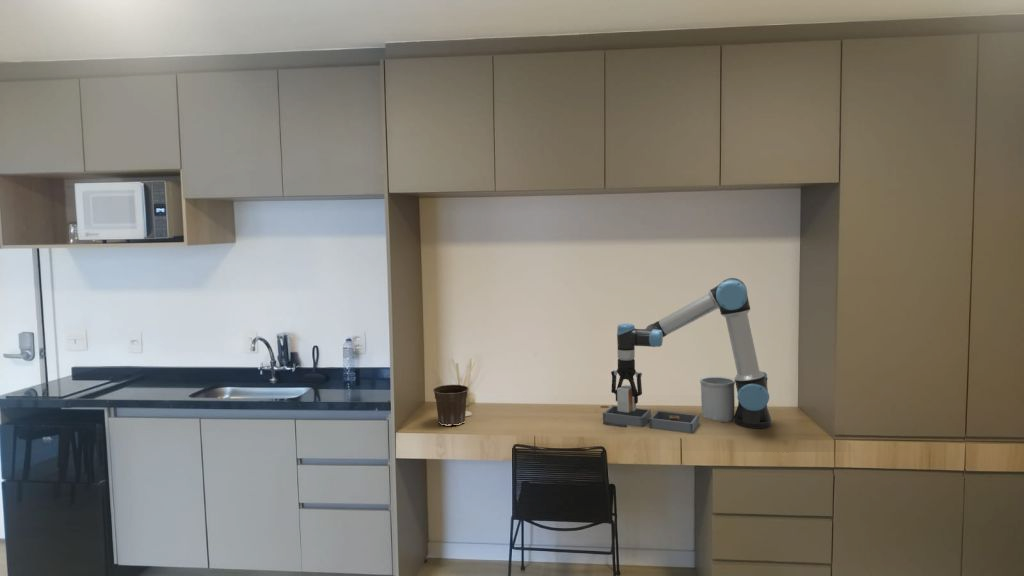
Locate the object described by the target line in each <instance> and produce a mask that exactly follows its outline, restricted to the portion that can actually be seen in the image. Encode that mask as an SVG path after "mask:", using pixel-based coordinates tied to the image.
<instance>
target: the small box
mask: <svg viewBox="0 0 1024 576" xmlns="http://www.w3.org/2000/svg"><path fill="white" fill-rule="evenodd" d="M616 389H617V401H616V403H617V405H616V406H617V407H618V411H620V412H627V413H629V412H631V411H632V397H633V396H634V394H633V391H632V388H631V385H630V384H624V385H622V386H621V387H620V388H617V387H616Z"/></svg>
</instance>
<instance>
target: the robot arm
mask: <svg viewBox="0 0 1024 576" xmlns="http://www.w3.org/2000/svg"><path fill="white" fill-rule="evenodd" d="M715 310H716V311H717V310H719V311H720V315H721V316H722V317H724V318H725V322H726V326H727V331H728V335H729V340H730V345H731V349H732V354H733V359H734V363H735V368H736V373H737V374H736V375H735V377H734V380H735V387H736V392H737V397H736V398H737V402H738V403H737V404H738V405H737V406H736V407H737V408H736V411H735V412H734V420H733V422H734V424H736V425H737V426H741V427H744V428H749V429H767V428H769V427H772V417H771V414H770V411H769V409H768V403H769V400H770V393H769V390H768V379H769V378H768V374H767V372H765V371H762V370H760V367H759V363H758V357H757V353H756V349H755V348H756V347H755V344H754V339H753V334H752V329H751V325H750V320H749V316H748V313H749V312H750V311H751V307H750V301H749V297H748V289H747V286H746V284H745V283H744V282H743V281H742V280H740V279H738V278H737V277H736V278H735V277H729V278H727V279H726V278H725V279H724V280H723V281H721V282H720V283H719V284H718V285H716V286H715V287H713V288H712V289H709V291H708V293H707V294H705V295H703V296H701V297H700V298H698V299H696V300H694V301H692V302H690V303H689V304H686V305H684V306H683V307H681V308H679V309H678V310H675V311H673V312H672V313H670V314H669V315H667V316H664V317H662V318H661V319H659V320H658V321H655V322H653V323H650V324H649V325H647V326H646V328H635V325H634V324H633V323H619V324H618V325H617V331H616V333H617V334H616V339H617V340H616V342H617V369H616V370H612V371H611V372H610V374H611V391H610V392H611V393H612V394H614V395H615V402H617V388H620V387H622V386H623V382H624V380H626V381H628V382H629V385H631V388H632V391H633V394H634V396H633V397H632V411H635V410H636V408H637V404H638V403H639V396H641V395H643V387H642V374H643V373H642V372H638V371H637V370H636V359H635V355H636V353H635V350H636V348H635V347H648V348H649V347H652V348H657V347H658V348H659V347H662V345H663V340H664V338H665V337H666V336H668V335H670V334H672V333H673V332H676V331H678V330H679V329H681V328H683V327H685V326H687V325H690V324H691V323H693V322H695V321H696V320H698V319H701V318H703V317H705V316H706V315H708V314H710V313H712V312H714V311H715ZM617 375H618V376H619V379H618V384H617ZM634 376H635V377H636V382H635V378H634ZM635 383H636V384H635Z"/></svg>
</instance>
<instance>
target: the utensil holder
mask: <svg viewBox="0 0 1024 576" xmlns="http://www.w3.org/2000/svg"><path fill="white" fill-rule="evenodd" d="M699 380H700V381H699V383H700V393H701V394H700V401H701V415H702V417H703V418H706V419H708V420H713V421H720V422H721V423H728V422H731V421H734V416H735V403H736V402H735V385H736V383H735V378H734V379H733V378H731V377H727V376H721V375H720V376H719V375H716V376H712V375H710V376H704V377H701V378H700V379H699Z"/></svg>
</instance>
